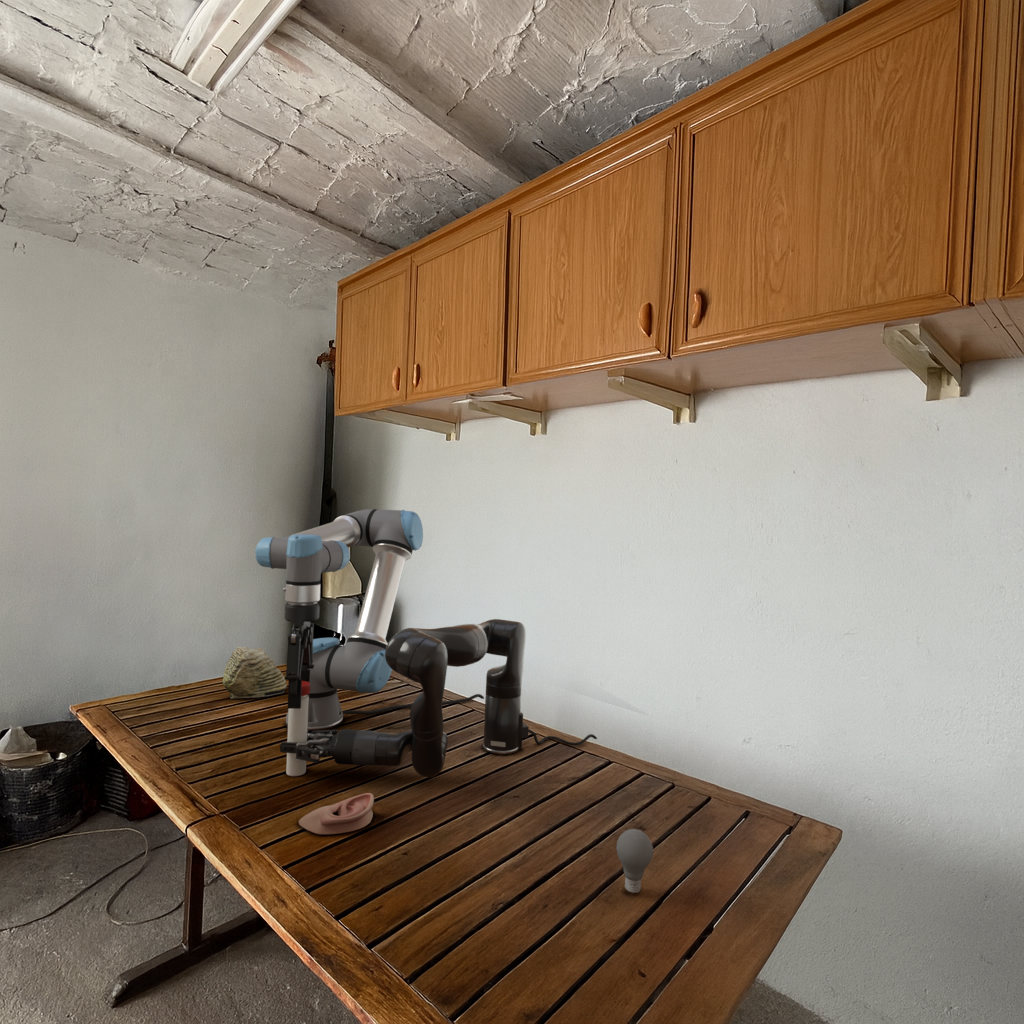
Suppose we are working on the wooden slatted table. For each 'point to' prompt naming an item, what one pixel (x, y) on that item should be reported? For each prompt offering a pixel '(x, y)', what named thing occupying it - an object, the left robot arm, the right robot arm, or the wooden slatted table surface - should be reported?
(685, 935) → the wooden slatted table surface
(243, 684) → the fossil
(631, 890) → the light bulb
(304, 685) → the lid
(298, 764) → the white tube
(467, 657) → the right robot arm
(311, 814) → the anatomical model
